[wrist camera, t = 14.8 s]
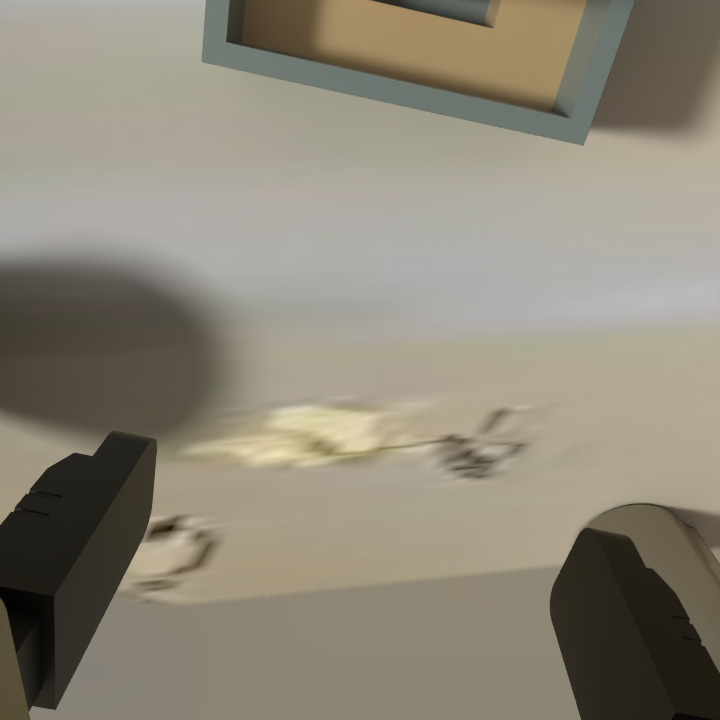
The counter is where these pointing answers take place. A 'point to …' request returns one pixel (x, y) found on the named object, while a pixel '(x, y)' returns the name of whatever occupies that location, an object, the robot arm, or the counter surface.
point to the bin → (434, 54)
